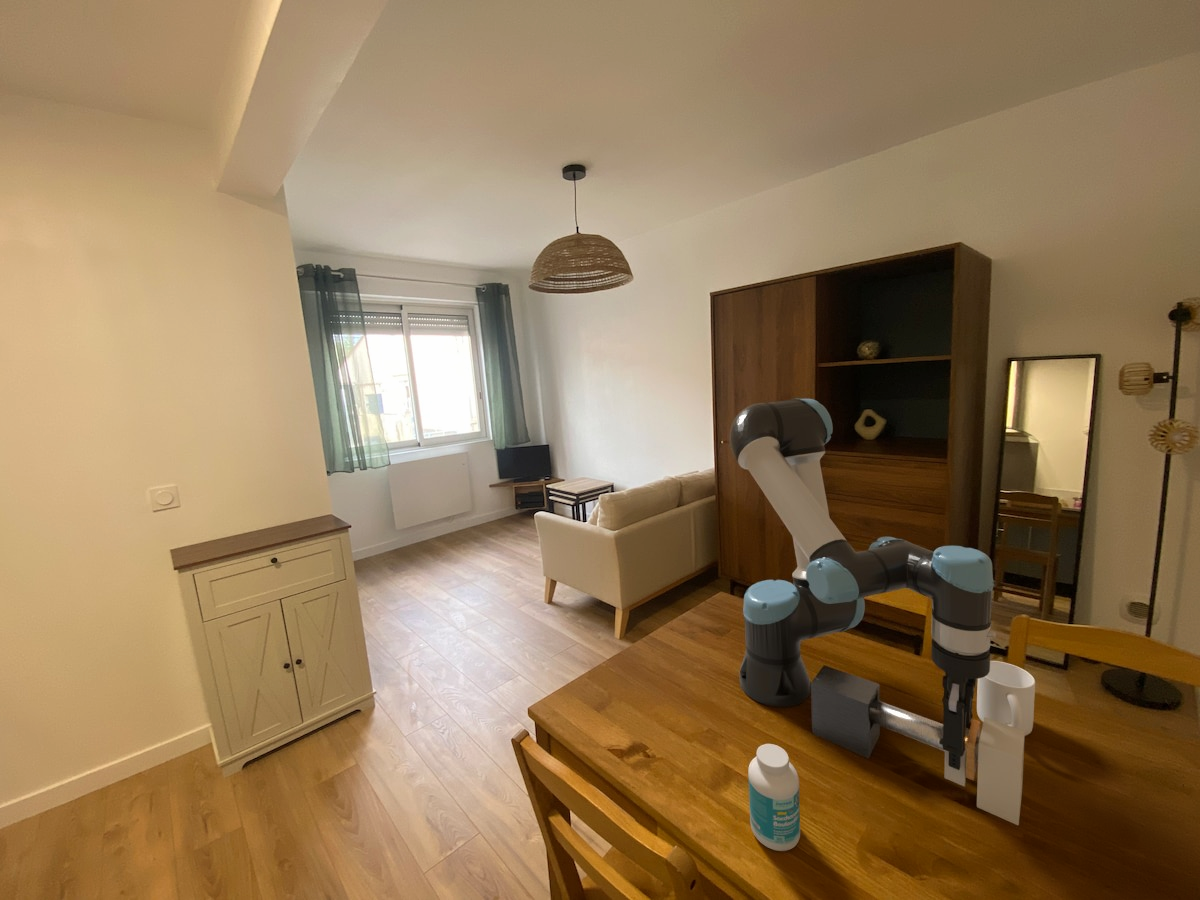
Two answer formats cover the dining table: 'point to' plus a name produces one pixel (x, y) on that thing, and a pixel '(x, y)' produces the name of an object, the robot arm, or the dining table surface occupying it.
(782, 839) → the pill bottle
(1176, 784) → the dining table surface
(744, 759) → the dining table surface
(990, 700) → the mug
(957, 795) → the dining table surface
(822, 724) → the sleeve
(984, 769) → the socket block
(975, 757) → the tube
